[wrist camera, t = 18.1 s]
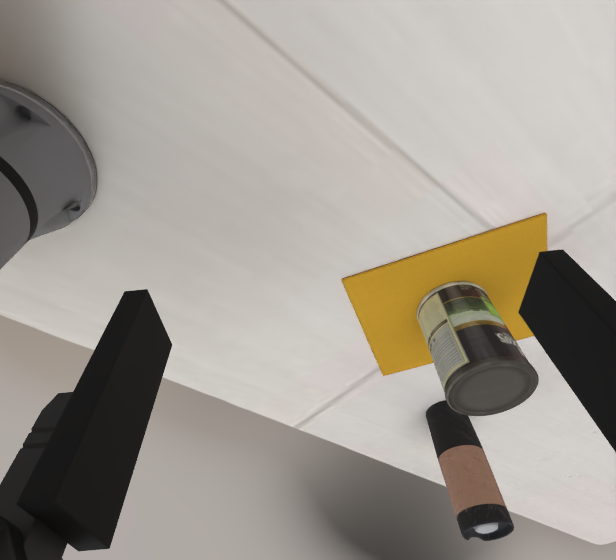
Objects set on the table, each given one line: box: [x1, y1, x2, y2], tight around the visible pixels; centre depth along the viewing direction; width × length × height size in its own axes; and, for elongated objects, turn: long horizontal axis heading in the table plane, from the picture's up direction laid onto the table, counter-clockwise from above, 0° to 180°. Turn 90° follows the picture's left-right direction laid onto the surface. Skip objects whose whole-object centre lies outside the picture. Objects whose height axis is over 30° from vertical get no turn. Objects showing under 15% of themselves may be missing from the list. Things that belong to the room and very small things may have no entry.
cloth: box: [342, 213, 547, 376], centre depth 55 cm, size 26×22×1 cm
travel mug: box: [426, 401, 514, 541], centre depth 64 cm, size 8×8×20 cm
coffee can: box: [417, 281, 538, 416], centre depth 49 cm, size 10×10×14 cm
